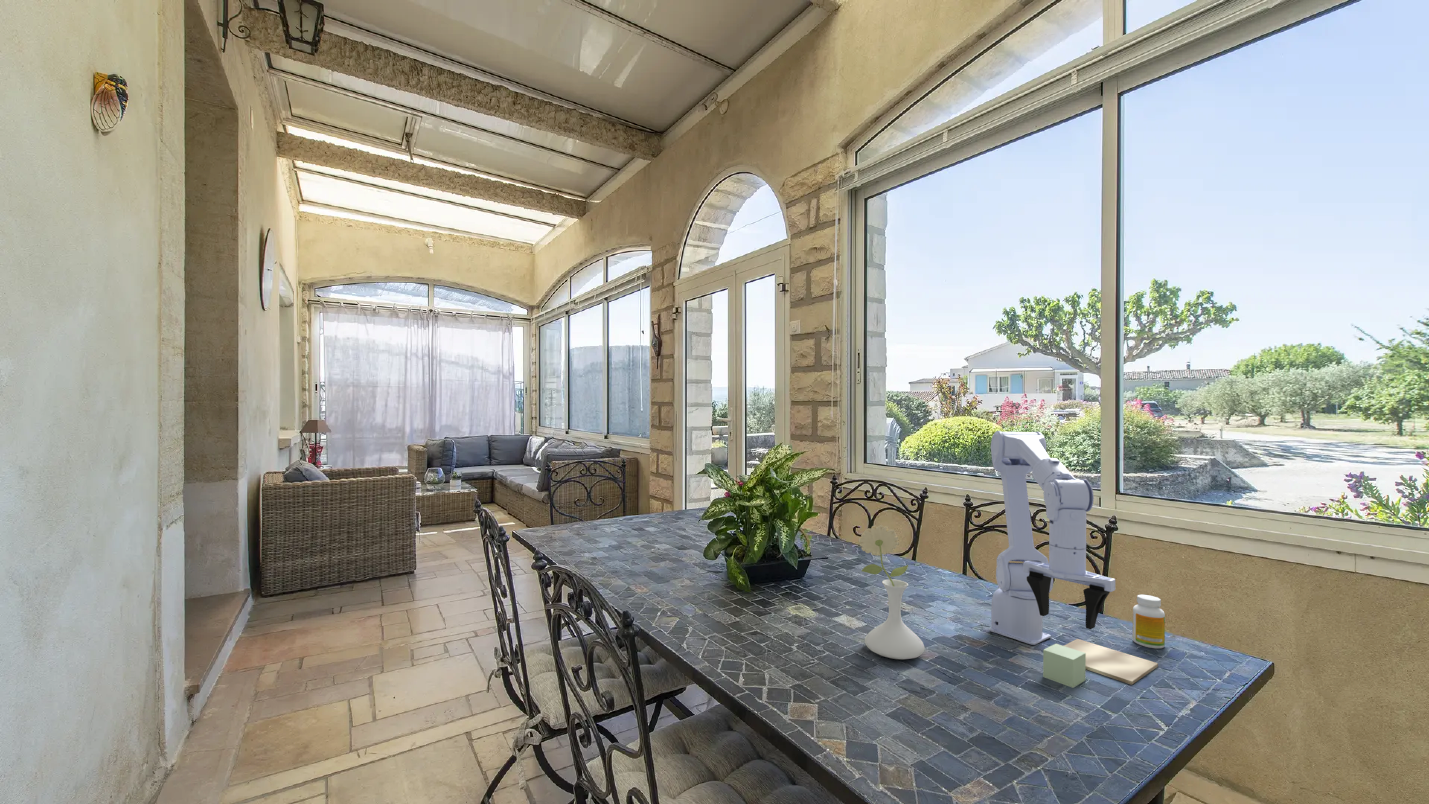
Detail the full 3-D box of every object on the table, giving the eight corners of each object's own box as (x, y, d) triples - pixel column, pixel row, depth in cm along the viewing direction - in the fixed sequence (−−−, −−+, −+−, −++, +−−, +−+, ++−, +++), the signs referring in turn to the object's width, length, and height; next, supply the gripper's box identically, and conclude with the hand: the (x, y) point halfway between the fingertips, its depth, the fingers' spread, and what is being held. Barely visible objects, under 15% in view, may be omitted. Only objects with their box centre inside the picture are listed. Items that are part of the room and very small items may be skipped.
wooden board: (1048, 656, 113) (1048, 653, 113) (1077, 641, 121) (1077, 638, 121) (1131, 684, 102) (1131, 681, 102) (1157, 666, 110) (1157, 663, 110)
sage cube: (1043, 677, 104) (1043, 649, 105) (1055, 670, 107) (1056, 643, 107) (1073, 688, 100) (1073, 659, 100) (1085, 680, 103) (1085, 653, 103)
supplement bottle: (1170, 650, 117) (1171, 602, 117) (1140, 647, 118) (1141, 600, 118) (1155, 640, 122) (1156, 594, 122) (1127, 637, 123) (1127, 592, 124)
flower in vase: (927, 647, 117) (928, 524, 117) (921, 670, 106) (923, 535, 107) (861, 635, 122) (863, 518, 122) (850, 656, 112) (852, 527, 112)
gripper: (1015, 540, 107) (1015, 613, 107) (1104, 557, 96) (1103, 639, 96) (1033, 536, 112) (1032, 606, 112) (1120, 551, 100) (1119, 629, 100)
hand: (1066, 621), depth 104 cm, fingers open, 7 cm apart
